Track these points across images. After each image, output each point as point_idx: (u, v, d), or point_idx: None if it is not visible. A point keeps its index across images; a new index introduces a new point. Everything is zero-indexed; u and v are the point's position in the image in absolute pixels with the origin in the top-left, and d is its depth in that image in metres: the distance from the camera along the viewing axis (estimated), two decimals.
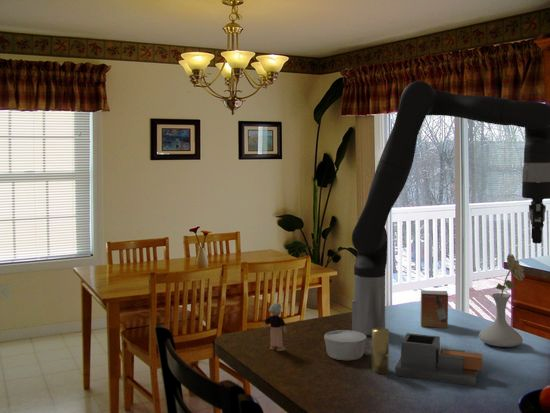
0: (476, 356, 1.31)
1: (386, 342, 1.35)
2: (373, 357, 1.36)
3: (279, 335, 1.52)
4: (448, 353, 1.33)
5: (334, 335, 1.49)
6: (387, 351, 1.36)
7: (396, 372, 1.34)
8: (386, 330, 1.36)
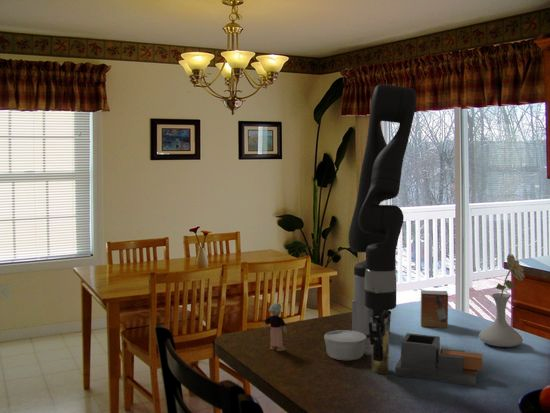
0: (476, 356, 1.31)
1: (386, 342, 1.35)
2: None
3: (279, 335, 1.52)
4: (448, 353, 1.33)
5: (334, 335, 1.49)
6: (387, 351, 1.36)
7: (396, 372, 1.34)
8: (386, 330, 1.36)
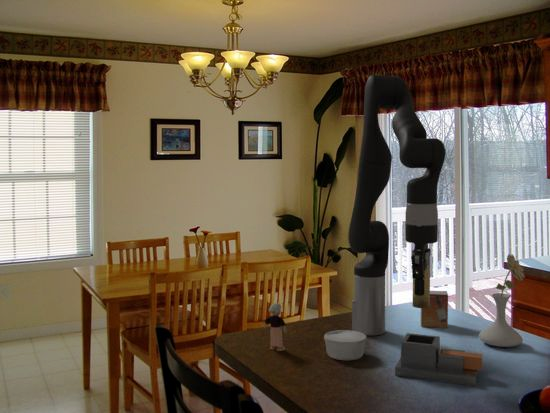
0: (476, 356, 1.31)
1: (427, 277, 1.34)
2: (414, 292, 1.35)
3: (279, 335, 1.52)
4: (448, 353, 1.33)
5: (334, 335, 1.49)
6: (428, 286, 1.35)
7: (396, 372, 1.34)
8: None
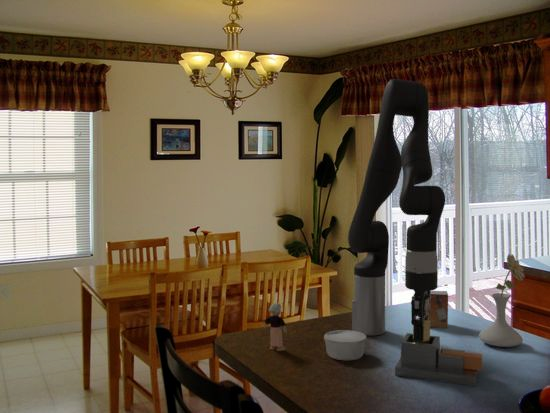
0: (476, 356, 1.31)
1: (428, 332, 1.35)
2: None
3: (279, 335, 1.52)
4: (448, 353, 1.33)
5: (334, 335, 1.49)
6: (428, 342, 1.36)
7: (396, 372, 1.34)
8: (428, 321, 1.36)
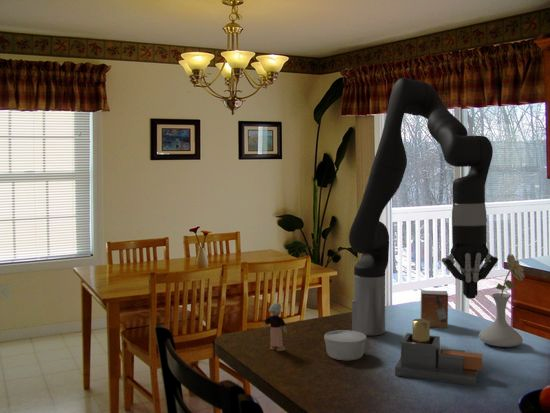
0: (476, 356, 1.31)
1: (427, 333, 1.35)
2: None
3: (279, 335, 1.52)
4: (448, 353, 1.33)
5: (334, 335, 1.49)
6: (428, 342, 1.36)
7: (396, 372, 1.34)
8: (427, 321, 1.36)
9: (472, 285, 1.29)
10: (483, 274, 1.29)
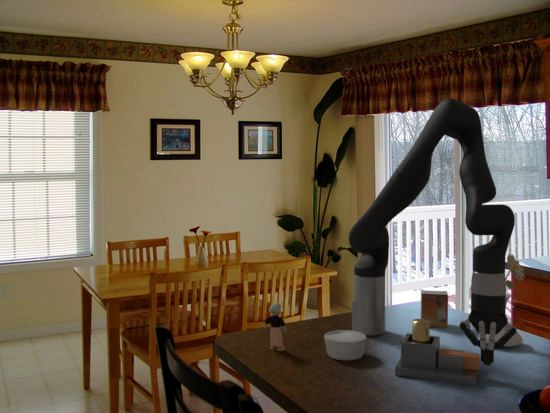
0: (473, 356, 1.32)
1: (427, 333, 1.35)
2: None
3: (279, 335, 1.52)
4: (445, 353, 1.34)
5: (334, 335, 1.49)
6: (428, 342, 1.36)
7: (396, 372, 1.34)
8: (427, 321, 1.36)
9: (487, 352, 1.30)
10: (499, 343, 1.29)
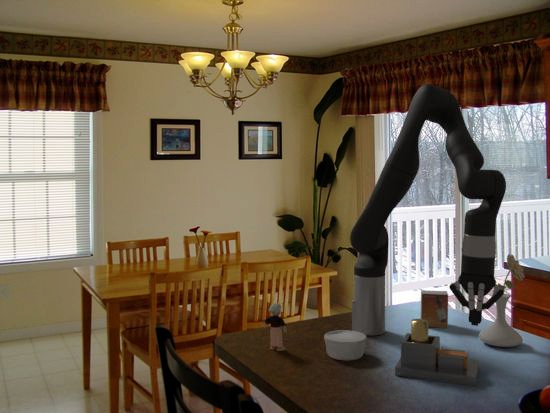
0: (461, 354, 1.33)
1: (426, 333, 1.35)
2: None
3: (279, 335, 1.52)
4: None
5: (334, 335, 1.49)
6: (427, 342, 1.36)
7: (396, 372, 1.34)
8: (426, 321, 1.36)
9: (475, 313, 1.35)
10: (487, 304, 1.33)
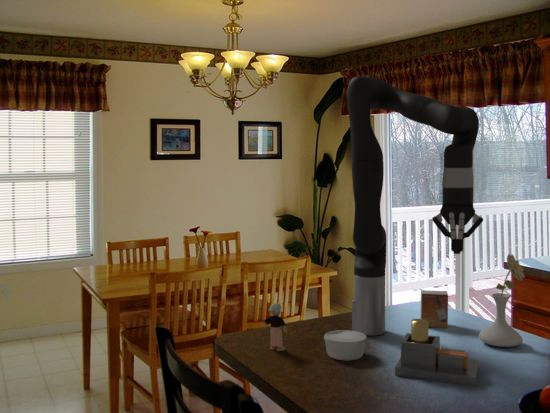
0: (461, 354, 1.33)
1: (426, 333, 1.35)
2: None
3: (279, 335, 1.52)
4: None
5: (334, 335, 1.49)
6: (427, 342, 1.36)
7: (396, 372, 1.34)
8: (426, 321, 1.36)
9: (457, 242, 1.43)
10: (468, 232, 1.42)
